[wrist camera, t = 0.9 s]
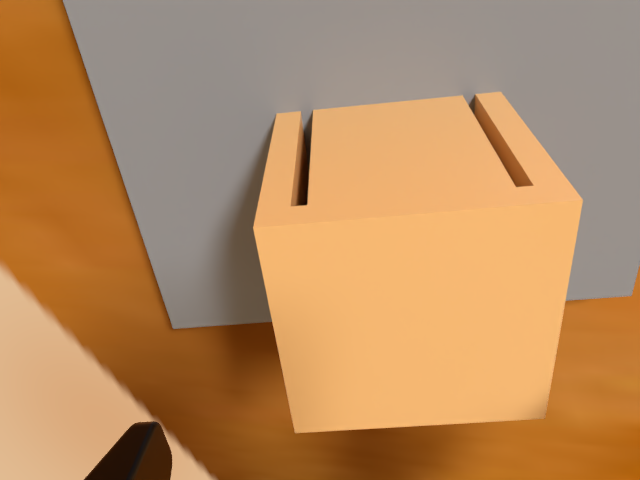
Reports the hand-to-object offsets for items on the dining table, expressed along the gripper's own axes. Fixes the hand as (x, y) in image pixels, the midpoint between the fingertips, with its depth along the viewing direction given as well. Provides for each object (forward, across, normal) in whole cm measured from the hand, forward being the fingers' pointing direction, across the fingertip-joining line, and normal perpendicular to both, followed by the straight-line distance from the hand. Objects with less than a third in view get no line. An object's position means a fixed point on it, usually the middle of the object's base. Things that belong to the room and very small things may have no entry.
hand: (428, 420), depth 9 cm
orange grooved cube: (+7, 0, 0) cm, 7 cm away
